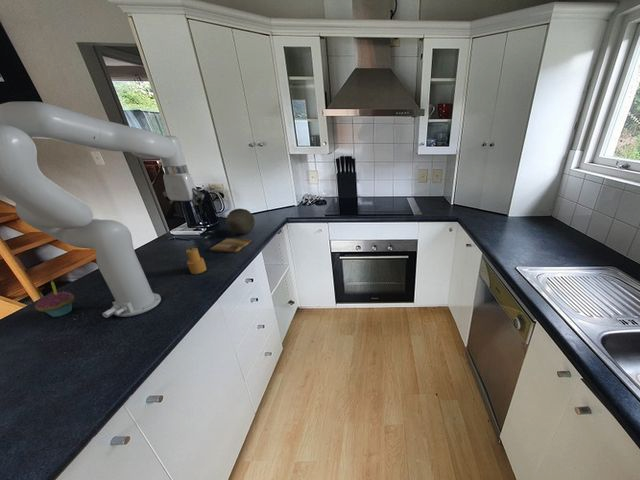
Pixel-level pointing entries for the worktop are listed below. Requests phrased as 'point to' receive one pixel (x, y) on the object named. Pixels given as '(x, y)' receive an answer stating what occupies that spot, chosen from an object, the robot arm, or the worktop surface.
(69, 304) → the cupcake
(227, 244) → the board
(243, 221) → the cantaloupe
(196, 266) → the squash
